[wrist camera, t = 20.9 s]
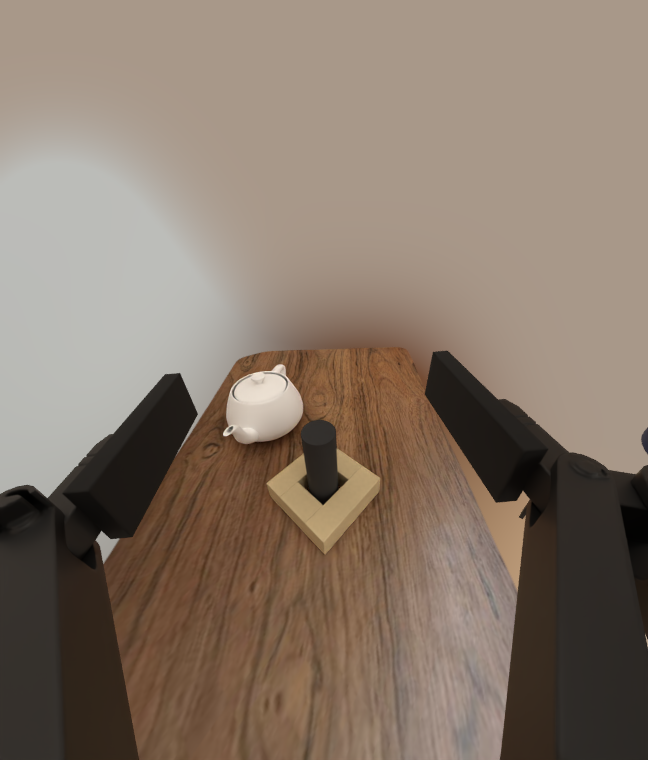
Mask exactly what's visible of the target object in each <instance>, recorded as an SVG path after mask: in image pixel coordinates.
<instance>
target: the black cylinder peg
mask: <svg viewBox="0 0 648 760" xmlns="http://www.w3.org/2000/svg"><path fill="white" fill-rule="evenodd" d="M301 439H302V446H303V452H304V459H305V466H306V472H307V479H308V486H309V492H310V494H311V495H312V496H313V497H314V498H316V499H317V500H318V501H319V502H320V503H321V504H322V505H324V504H325V503H326V502H327V501H328V500H329V499H330V498H331V497H332V496H333V495H334V494H335V493H336V492H337V491H338V468H337V445H336V429H335V427H334V426H333V425H332V424H331V423H329V422H327V421H324V420H316V421H312V422H309V423H308V424H306V425H305V426H304V427H303V429H302V431H301Z"/></svg>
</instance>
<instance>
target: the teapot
mask: <svg viewBox="0 0 648 760" xmlns="http://www.w3.org/2000/svg"><path fill="white" fill-rule="evenodd" d="M302 414H303V402H302V399H301V396H300V394H299V392H298V391H297V389H296V388H295V386H294V385H293V384H292V383H291V381H290V380H289V379H288V378H287V377H286V370H285V366H284V365H281V364H280V365H277V366H276V367H275V368H274V369H273V370H272V371H264V372H257V373H253V374H250V375H247V376H245V377H243V378H241V379H240V380H239V381H237V382H236V383H235V384H234V385H233V387H232V388H231V391H230V394H229V398H228V403H227V413H226V417H227V422H228V425H229V427H228V428H227V429H226V430H225V431H224V433H223V436H228V435H230V434H233V436H234V438H235V439H236V440H237V441H238V442H240V443H243V444H250V443H253V442H265V441H271V440H275V439H278V438H280V437H282V436H284V435H286V434H287V433H289V432H290V431H291V430H292V429H294V427H295V426H296V425H297V424H298V423H299V421H300V419H301V417H302Z"/></svg>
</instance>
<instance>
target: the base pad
mask: <svg viewBox="0 0 648 760" xmlns="http://www.w3.org/2000/svg"><path fill="white" fill-rule="evenodd" d="M337 468H338V484H339V485H340V486H341V488H340V489H339V490H338V491H337V492H336V493H335V494H334V495H333V496H332V497H331V498H330V499H329V500H328V501H327V502H326V503H325V504H324V505H322V504H321V503H320V502H319V501H318V500H317V499H316V498H314V497H313V496H312V495H311V494H310V493H309V492H308V491H307V490H306V489H307V488H308V487H309V486H308V479H307V472H306V466H305V459H304V454H303V455H301V456H300V457H299V458H298V459H296V460H295V461H294V462H293V463H291V464H290V465H289V466H287V467H286V468H285V469H284V470H282V471H281V472H280V473H279V474H277V475H276V476H275V477H274V478H272V479H271V480H270V481H269V482H267V483H266V484H267V487H268V490H269V494H270V497H271V498H272V499H273V500H274V501H275V502H276V503H277V504H278V505H279V506H280V507H281V508H282V509H283V510H284V512H285V513H286V514H287V515H288V516H289V517H290V518H291V519H292V520H293V521H294V522H295V523H296V524H297V526H298V527H299V528H300V529H301V530H302V531H303V532H304V533H305V534H306V535H307V536H308V537H309V539H310V540H311V541H312V542H313V543H314V544H315V545H316V546H317V547H318V548H319V549H320V550H321V551H322V553H323V554H324V555H325V554H326V553H327V552H328V551H329V550H330V549H331V547H332V546H333V545H334V544H335V543H336V542H337V540H338V539H339V538H340V537H341V536H342V534H343V533H344V532H345V531H346V530H347V529H348V527H349V526H350V525H351V524H352V523H353V522H354V520H355V519H356V518H357V517H358V516H359V515H360V513H361V512H362V511H363V510H364V509H365V507H366V506H367V505H368V504H369V503H370V502H371V500H372V499H373V498H374V497H375V496H376V495H377V493H378V492H379V487H380V478H379V477H378V476H376V475H375V474H373V473H372V472H371V471H369V470H368V469H366V468H365V467H363V466H362V465H360V464H359V463H357V462H356V461H355V460H353V459H352V458H350V457H349V456H347V455H346V454H344V453H343V452H342V451H340V450H339V449H337Z"/></svg>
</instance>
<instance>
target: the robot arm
mask: <svg viewBox="0 0 648 760" xmlns="http://www.w3.org/2000/svg"><path fill="white" fill-rule="evenodd" d="M425 395H426V397H427V398H428V400H429V401H430V403H431V404H432V406H433V408H434V409H435V411H436V412H437V414H438V415H439V417H440V418H441V420H442V421H443V422H444V424H445V426H446V427H447V429H448V430H449V432H450V433H451V435H452V436H453V438H454V439H455V441H456V442H457V444H458V446H459V447H460V449H461V450H462V452H463V453H464V455H465V456H466V458H467V459H468V461H469V462H470V463H471V465H472V467H473V468H474V470H475V471H476V473H477V474H478V476H479V477H480V479H481V480H482V482H483V484H484V485H485V486H486V488H487V490H488V491H489V493H490V494H491V496H492V497H493V499H494V500H495V502H507V501H516V500H517V499H518V498H519V496H520V494H521V493H522V491H524V492H525V493H526V495H527V496H528V497H529V498H530V500H529V502H528V503H527V505H526V506H525V508H524V509H523V511H522V512H521V514H520V516H519V517H520V518H522V519H523V518H524V516H525V515H526V519H525V528H524V538H523V547H522V557H521V567H520V576H519V586H518V595H517V605H516V614H515V624H514V634H513V643H512V653H511V662H510V672H509V682H508V691H507V701H506V710H505V720H504V730H503V739H502V749H501V756H500V760H648V647H647V642H646V637H645V634H646V636H647V639H648V465H647V466H644V467H643V468H642V469H641V470H640V471H639V472H638V473H637V474H630V473H624V472H617V471H611V470H608V469H607V468H606V467H605V466H604V465H602V464H601V463H599V462H597V461H596V460H594V459H591V458H589V457H587V456H585V455H582V454H577V453H569V452H568V451H567V450H566V449H564V448H563V447H562V446H561V445H560V444H559V443H558V442H557V441H556V440H555V439H553V438H552V437H551V436H550V435H549V434H548V433H547V432H546V431H545V430H543V429H542V428H541V427H540V426H539V425H538V424H536V422H535V421H534V420H533V419H532V418H530V417H528V415H527V414H526V413H525V412H523V410H522V409H520V408H519V407H518V406H517V405H515V404H513V403H511V402H509V401H508V400H506V399H501V400H498V399H497V398H496V397H495V396H494V395H493V394H492V393H490V392H489V390H487V389H486V388H485V387H484V386H483V385H482V384H481V383H480V382H479V381H478V380H477V379H476V378H475V377H474V376H473V375H472V374H471V373H470V372H469V371H468V370H467V369H466V368H465V367H464V366H463V365H462V364H461V363H460V362H459V361H458V360H457V359H456V358H454V357H453V356H452V355H451V354H450V353H449V352H448V351H438V352H433V355H432V360H431V365H430V371H429V375H428V380H427V386H426V391H425ZM197 415H198V414H197V411H196V409H195V406H194V404H193V402H192V399H191V397H190V395H189V393H188V390H187V388H186V386H185V384H184V381H183V379H182V377H181V374H180V373H177V374H165V375H164V376H163V377H162V379H161V380H160V381H159V382H158V383H157V385H155V387H154V388H153V389H152V390H151V391H150V392H149V393H148V395H147V396H146V397H145V398H144V399H143V400H142V402H141V403H140V404H139V405H138V406H137V407H136V409H135V410H134V411H133V412H132V413H131V414H130V415H129V417H128V418H127V419H126V420H125V421H124V422H123V423H122V425H121V426H120V427H119V428H118V429H117V430H116V432H115V433H114V434H110V435H108V436H107V437H106V438H104V439H103V440H102V441H100V442H99V443H97V444H96V445H95V446H94V447H93V448H92V450H91V451H90V452H89V453H88V454H87V457H84V458H83V460H82V461H81V462H80V463H79V466H77V467H75V468H74V470H73V471H72V472H71V473H70V474H69V475H68V476H67V477H66V478H65V480H64V481H63V482H62V483H61V484H60V485H59V486H58V487H57V489H55V491H54V492H53V493H52V494H51V495H50V496H49V497H48V498H46V497H45V496H44V495H43V494H42V493H41V492H40V491H38V490H37V489H36V488H35V487H34V486H30V485H24V486H18V487H15V488H12V489H10V490H7V491H5V492H3V493H1V494H0V760H139V757H138V752H137V746H136V741H135V735H134V730H133V724H132V719H131V713H130V708H129V703H128V697H127V692H126V686H125V681H124V675H123V670H122V664H121V659H120V653H119V648H118V643H117V637H116V632H115V626H114V621H113V615H112V610H111V604H110V599H109V593H108V588H107V583H106V577H105V572H104V566H103V561H102V556H101V550H100V546H99V544H98V543H97V542H96V541H95V540H96V538H97V536H98V535H99V534H100V532H101V531H102V532H104V533H105V534H106V535H107V536H108V537H109V538H110V539H117V538H127V537H133V535H134V533H135V531H136V529H137V527H138V525H139V524H140V522H141V520H142V518H143V516H144V514H145V512H146V510H147V509H148V507H149V505H150V503H151V501H152V499H153V497H154V495H155V494H156V492H157V490H158V488H159V486H160V484H161V482H162V480H163V479H164V477H165V475H166V473H167V471H168V469H169V467H170V465H171V464H172V462H173V460H174V458H175V456H176V454H177V452H178V450H179V449H180V447H181V445H182V443H183V441H184V439H185V437H186V435H187V433H188V431H189V429H190V428H191V426H192V424H193V422H194V420H195V418H196V417H197Z"/></svg>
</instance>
